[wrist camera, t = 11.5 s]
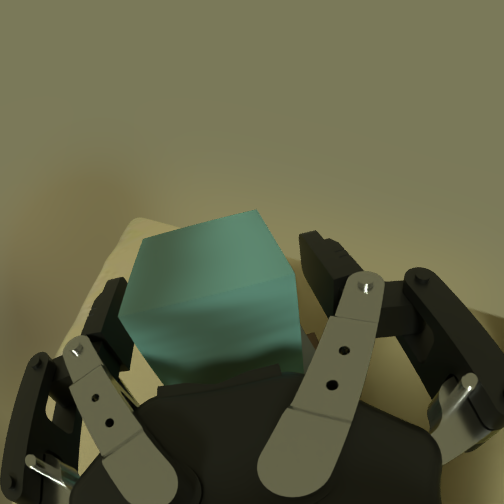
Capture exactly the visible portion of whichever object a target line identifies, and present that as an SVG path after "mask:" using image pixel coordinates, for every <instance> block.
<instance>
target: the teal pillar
mask: <svg viewBox="0 0 504 504" xmlns="http://www.w3.org/2000/svg"><path fill="white" fill-rule="evenodd" d="M118 318H119V319H120V321H121V323H122V324H123V326H124V327H125V329H126V331H127V332H128V334H129V335H130V337H131V339H132V340H133V342H134V343H135V345H136V346H137V348H138V349H139V351H140V352H141V354H142V355H143V357H144V358H145V360H146V361H147V362H148V364H149V365H150V367H151V368H152V369H153V371H154V372H155V374H156V375H157V376H158V378H159V379H160V380H161V382H162V383H163V384H164V386H166V385H173V384H180V383H197V384H218V383H221V382H223V381H226V380H228V379H230V378H233V377H235V376H237V375H239V374H242V373H244V372H246V371H249V370H253V369H258V368H262V367H266V366H270V365H274V364H277V363H279V366H280V370H281V372H298V373H304V368H303V355H302V342H301V331H300V320H299V309H298V299H297V289H296V280H295V273H294V271H293V269H292V268H291V266H290V264H289V263H288V261H287V259H286V258H285V256H284V254H283V253H282V251H281V249H280V247H279V246H278V244H277V243H276V241H275V239H274V238H273V236H272V234H271V232H270V231H269V229H268V227H267V226H266V224H265V223H264V221H263V219H262V218H261V216H260V215H259V213H258V211H257V210H252V211H248V212H243V213H239V214H235V215H231V216H227V217H224V218H219V219H215V220H211V221H207V222H204V223H200V224H196V225H192V226H188V227H185V228H181V229H177V230H173V231H170V232H166V233H163V234H159V235H155V236H152V237H148V238H145V239H143V241H142V244H141V246H140V249H139V252H138V255H137V258H136V260H135V263H134V266H133V269H132V272H131V275H130V278H129V281H128V284H127V288H126V291H125V294H124V297H123V301H122V304H121V307H120V311H119V314H118Z"/></svg>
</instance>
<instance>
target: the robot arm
mask: <svg viewBox="0 0 504 504" xmlns="http://www.w3.org/2000/svg"><path fill="white" fill-rule="evenodd" d="M299 245H300V255H301V265H302V270H303V273H304V276H305V278H306V280H307V282H308V283H309V285H310V287H311V289H312V290H313V292H314V294H315V296H316V298H317V299H318V301H319V303H320V305H321V306H322V308H323V310H324V312H325V314H326V315H327V317H328V322H327V324H326V327H325V329H324V332H323V334H322V337H321V339H320V342H319V344H318V347H317V349H316V351H315V354H314V356H313V358H312V361H311V363H310V365H309V367H308V370H307V372H306V374H304V373H298V372H281V370H280V366H279V363H277V364H274V365H270V366H266V367H262V368H258V369H253V370H249V371H246V372H244V373H242V374H239V375H237V376H235V377H233V378H230V379H228V380H226V381H223V382H221V383H218V384H197V383H180V384H173V385H166V386H158V389H157V396H155V397H153V398H151V399H149V400H147V401H146V402H144V403H143V404H141V405H139V403H138V402H137V401H136V399H135V398H134V397H133V395H132V394H131V393H130V391H129V390H128V388H127V387H126V386H125V384H124V383H123V381H122V380H121V379H120V378H119V372H122V371H129V370H130V364H131V358H132V352H133V347H134V342H133V340H132V339H131V337H130V335H129V334H128V332H127V331H126V329H125V327H124V326H123V324H122V323H121V321H120V319H119V318H118V314H119V311H120V307H121V304H122V301H123V297H124V294H125V291H126V288H127V284H128V283H127V281H126V280H125V278H123V277H119V278H115V279H111V280H108V281H107V283H106V285H105V287H104V290H103V292H102V293H101V294H100V295H99V296H98V297H97V298H96V299H95V301H94V303H93V305H92V308H91V309H92V310H90V313H89V316H88V318H87V320H86V323H85V325H84V328H83V330H82V333H81V336H77V337H75V338H73V339H71V340H70V341H69V342H68V343H67V344H66V346H65V348H64V350H63V355H62V356H59V357H57V358H55V359H51V358H50V357H49V356H48V354H47V353H45V352H40V353H37V354H36V355H34V356H33V357H32V358H31V359H30V361H29V363H28V365H27V367H26V370H25V373H24V376H23V379H22V382H21V385H20V388H19V391H18V394H17V397H16V401H15V404H14V408H13V412H12V416H11V420H10V424H9V428H8V433H7V437H6V443H5V448H4V454H3V460H2V468H1V477H0V485H1V490H2V492H3V494H4V495H5V497H6V498H7V499H9V500H11V501H13V502H15V503H17V504H442V503H441V495H440V482H441V472H442V466H443V465H445V464H446V463H448V462H450V461H451V460H453V459H454V458H456V457H458V456H459V455H461V454H462V453H464V452H471V451H473V450H475V449H477V448H478V447H479V446H481V445H482V444H483V443H485V442H486V441H487V440H489V439H490V438H491V437H492V436H494V435H495V434H496V433H497V432H499V431H500V430H501V429H502V428H503V427H504V354H503V352H502V351H501V349H500V348H499V347H498V345H497V344H496V343H495V341H494V340H493V339H492V338H491V336H490V335H489V334H488V333H487V331H486V330H485V329H484V328H483V326H482V325H481V324H480V323H479V321H478V320H477V319H476V318H475V317H474V315H473V314H472V313H471V312H470V311H469V310H468V309H467V307H466V306H465V305H464V304H463V303H462V302H461V301H460V300H459V298H458V297H457V296H456V295H455V294H454V293H453V292H452V291H451V290H450V289H449V288H448V286H447V285H446V284H445V283H444V282H443V281H442V280H441V279H440V278H439V277H438V276H437V275H436V274H435V273H434V272H432V271H431V270H429V269H426V268H421V267H417V268H412V269H409V270H408V271H407V272H406V273H405V276H404V280H403V281H391V282H384V280H383V279H382V277H381V276H379V275H378V274H376V273H373V272H369V271H363V269H362V268H361V267H360V266H359V265H358V264H357V263H356V261H355V260H354V259H353V258H352V257H351V256H350V255H349V254H348V252H347V251H346V250H344V248H343V247H342V246H341V245H340V244H339V243H338V242H336V241H334V240H332V239H330V238H329V239H325V240H324V239H323V238H322V237H321V236H320V234H319V233H318V232H317V231H316V230H315V231H311V232H307V233H302V234H299ZM391 336H396V338H397V340H398V341H399V343H400V345H401V346H402V348H403V350H404V351H405V353H406V355H407V356H408V358H409V360H410V361H411V363H412V365H413V367H414V368H415V370H416V372H417V374H418V375H419V377H420V379H421V381H422V382H423V384H424V386H425V388H426V390H427V392H428V393H429V395H430V397H431V399H432V401H431V402H430V404H429V407H428V410H427V415H428V419H429V423H430V431H429V433H428V432H427V431H426V430H424V429H422V428H421V427H418V426H416V425H414V424H411V423H409V422H407V421H404V420H402V419H400V418H397V417H395V416H393V415H391V414H388V413H386V412H384V411H382V410H380V409H378V408H376V407H373V406H371V405H369V404H367V403H365V402H363V401H361V400H359V399H360V396H361V392H362V389H363V386H364V382H365V378H366V375H367V371H368V367H369V363H370V359H371V355H372V351H373V346H374V342H375V338H380V337H391ZM48 396H50V397H51V398H52V399H53V400H54V401H55V402H56V405H55V410H54V415H53V420H52V422H51V421H50V420H49V419H48V417H47V415H46V411H45V409H46V404H47V400H48ZM82 418H83V421H84V423H85V425H86V427H87V429H88V431H89V433H90V435H91V436H92V438H93V440H94V442H95V444H96V446H97V448H98V449H99V451H100V453H99V455H98V456H97V457H96V458H95V459H94V461H93V462H92V463H91V464H90V466H89V467H88V468H87V469H86V470H85V472H84V473H83V474H82V475H81V476H79V474H78V459H79V446H80V435H81V426H82Z"/></svg>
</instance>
